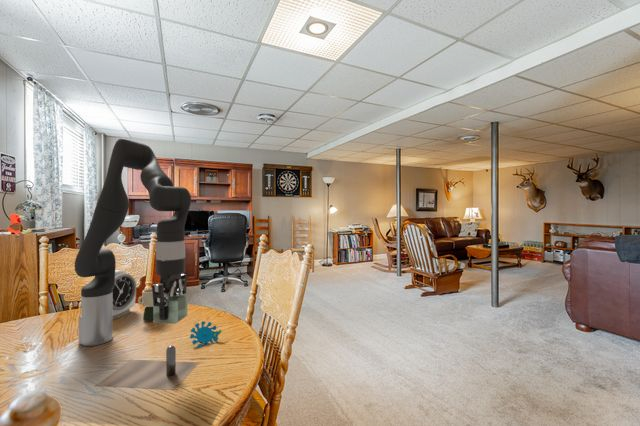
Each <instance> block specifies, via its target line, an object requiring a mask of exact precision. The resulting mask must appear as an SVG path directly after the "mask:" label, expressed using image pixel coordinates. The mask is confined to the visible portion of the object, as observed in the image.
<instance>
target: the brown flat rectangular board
mask: <svg viewBox="0 0 640 426" xmlns="http://www.w3.org/2000/svg"><path fill="white" fill-rule="evenodd" d="M199 364H200V362H194V361H188V362H187V361H176V374H175V375H174V376H171V377H168V376H166V360H153V359H152V360H151V359H129V360H128V361H127V362H125V364H123V365H121V366H120V367H119V368H117V369H116V370H115V371H114V372H112V373H110V374H109V375H108V376H106V377H105V378H104V379H102V380H101V381H99V382H98V383H97V384H96V385H95V387H110V388H111V387H112V388H126V389H127V388H128V389H129V388H130V389H131V388H132V389H147V390H149V389H150V390H166V391H167V390H168V391H170V390H171V391H175V390H176V389H177V388H178V387H179V386H180V384H181V383H182V382H183V381H184V380H185V379H186V378H187V377H188V376H189V375H190V374H191V372H193V370H194V369H195V368H196V367H197V366H198V365H199Z"/></svg>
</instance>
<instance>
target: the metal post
mask: <svg viewBox="0 0 640 426" xmlns="http://www.w3.org/2000/svg"><path fill="white" fill-rule="evenodd" d="M176 350H177V349H176V347H175V346H174V345H168V346H167V348H166V351H165V353H166V354H165V355H166V356H165V357H166V358H165V361H166V376H168V377H171V376H174V375H175V374H176V362H177V360H176V356H177V355H176V352H177V351H176Z"/></svg>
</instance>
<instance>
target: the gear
mask: <svg viewBox="0 0 640 426" xmlns="http://www.w3.org/2000/svg"><path fill="white" fill-rule="evenodd" d="M200 324H201V327H199V326H200ZM205 324H207V325H206V326H205ZM211 326H212V322H211V321H209V322H207V323H206V321H204V320H202V321H201V322H200V323H199V322H198V323H195V324H194V327H192V328H191V329H190V332H191V334H190V336H189V339H193V340H192V341H191V342H192V345H196V344H197V343H198V344H197V348H202V346H203V344H205V346H204V347H206V346H209V343H210V345H215V342H218V340H219V335H220V334H222V332H223V330H222V329H218V330H217V325H213V326H212V327H211ZM215 330H217V331H215ZM200 342H201V343H200Z"/></svg>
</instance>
